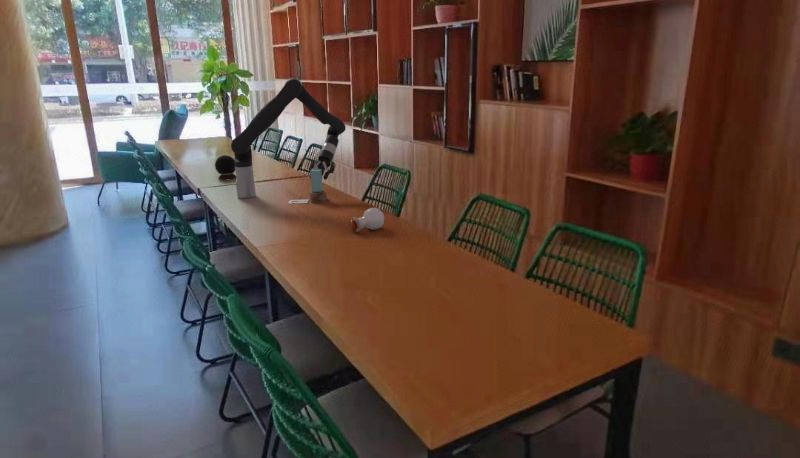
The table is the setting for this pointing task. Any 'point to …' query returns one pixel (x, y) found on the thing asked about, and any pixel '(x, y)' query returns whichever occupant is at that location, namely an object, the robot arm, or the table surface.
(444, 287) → the table surface
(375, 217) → the potion bottle
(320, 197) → the walnut base brick
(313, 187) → the teal brick
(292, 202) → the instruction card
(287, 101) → the robot arm
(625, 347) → the table surface
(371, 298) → the table surface
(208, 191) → the table surface
